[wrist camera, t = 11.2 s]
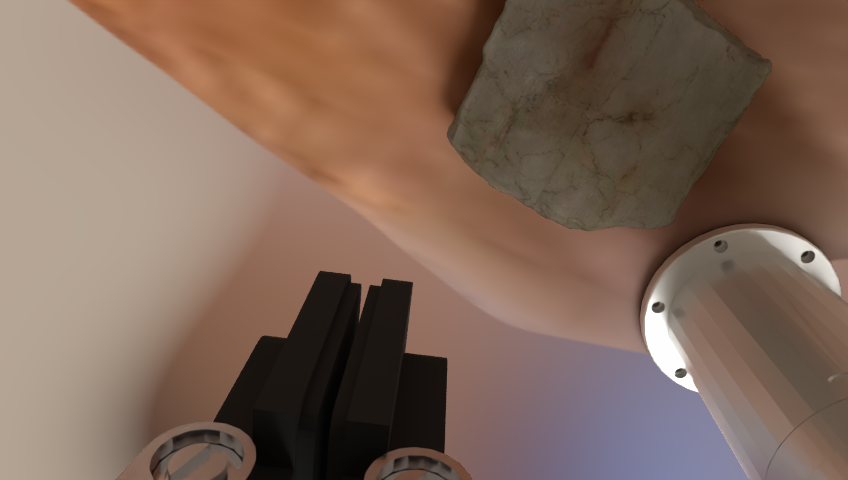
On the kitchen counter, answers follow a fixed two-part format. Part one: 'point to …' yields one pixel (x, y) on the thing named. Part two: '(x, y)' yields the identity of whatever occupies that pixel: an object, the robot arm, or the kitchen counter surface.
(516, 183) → the marble piece
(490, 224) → the kitchen counter surface
